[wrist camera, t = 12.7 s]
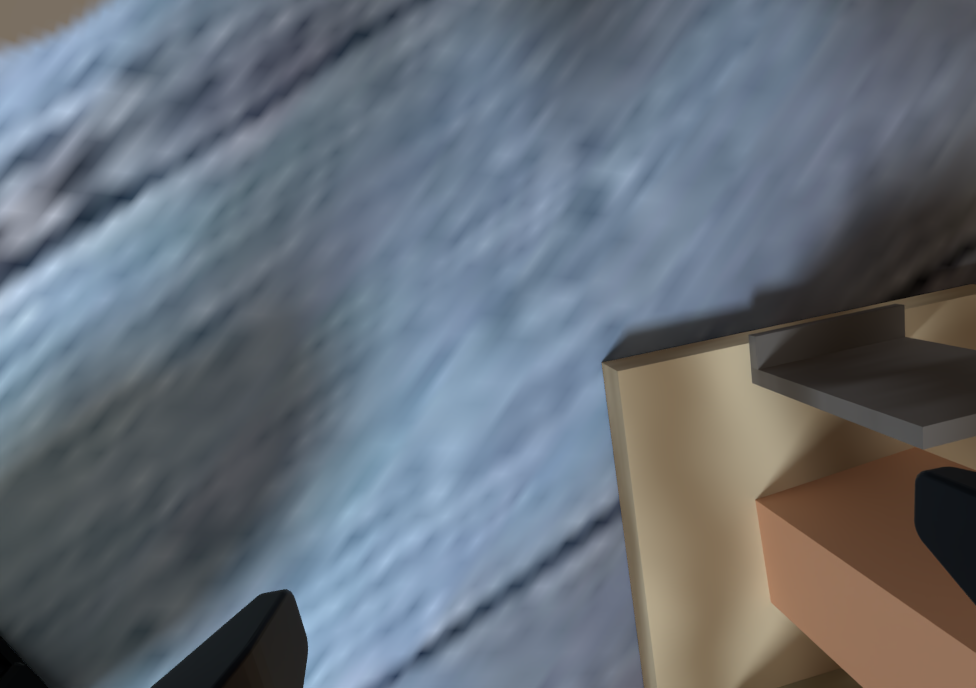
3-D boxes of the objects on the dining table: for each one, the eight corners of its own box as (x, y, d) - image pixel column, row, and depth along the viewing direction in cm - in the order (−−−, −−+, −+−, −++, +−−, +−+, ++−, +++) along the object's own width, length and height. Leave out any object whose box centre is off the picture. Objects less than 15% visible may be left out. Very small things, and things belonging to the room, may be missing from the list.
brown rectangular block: (770, 602, 24) (1046, 857, 14) (755, 500, 23) (1039, 697, 13) (924, 547, 24) (1283, 751, 15) (915, 446, 24) (1293, 594, 14)
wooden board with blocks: (663, 838, 27) (793, 1108, 18) (600, 354, 22) (734, 425, 14) (971, 733, 29) (1208, 931, 21) (971, 276, 24) (1274, 297, 16)
